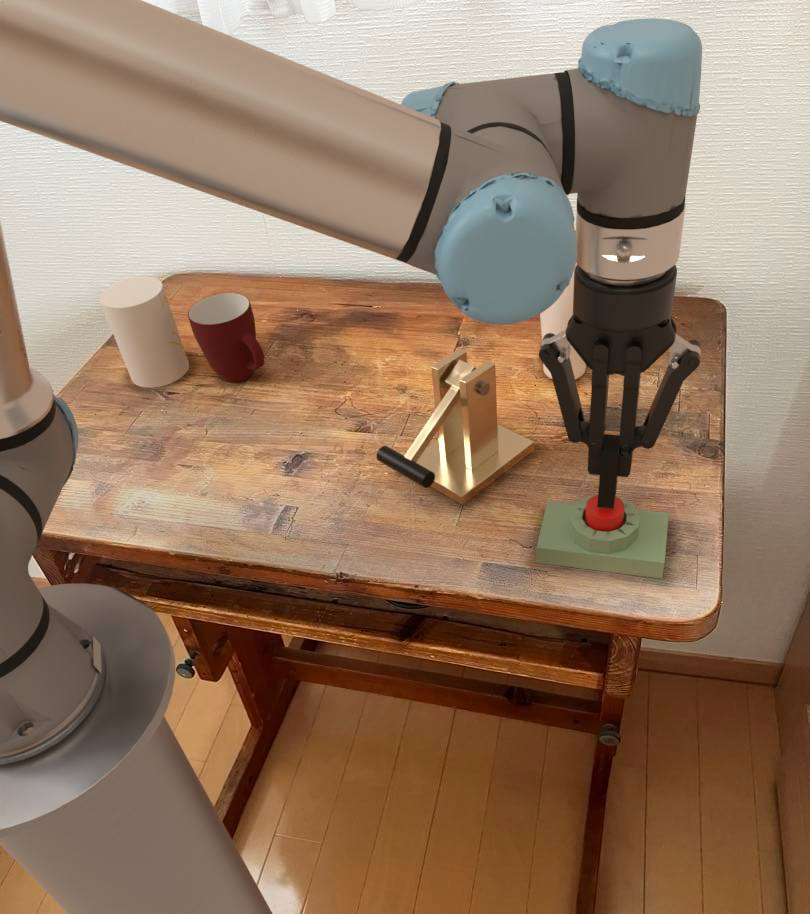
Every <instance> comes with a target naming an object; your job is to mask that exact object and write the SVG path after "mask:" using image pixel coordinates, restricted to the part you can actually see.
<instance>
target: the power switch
mask: <svg viewBox="0 0 810 914" xmlns="http://www.w3.org/2000/svg"><path fill="white" fill-rule="evenodd" d="M459 360H461V361H464V362H466V363H468V351H467V350H465V349H463V348H458V349H457V350H455V351H453V352H452V353H450V354H449V355H447V356H445V357H444V358H443V359H441V360H439V361H438V362H436V363H435V364H433V365H431V366H430V367H431V377H432V387H433V388H432V389H433V396H434V397H433V399H434V408H435V410H436V408H437V407H438V405H439V404H440V402H441V401H442V399H443V398H444V396H445V395H446V393H447V392H448V390H449V389H450V387H449V386H448V385H447V384H446V383H445V380H446V379H447V377H448V376H449V374H450V373H451V371H452V370H453V368H454V367H455V365H456V364H457V362H458V361H459ZM496 374H497V373H496V363H495V362H492V361H490V360H486V361H485V362H484V363H482V364H480V365H479V366H478V367H476V369H475V370H474V371H472V372H471V373H469V374H468V375H466V376H465V377H463V378H462V379H460V393H461V397H460V399H459V400H458V402H457V403H456V405H455V406H454V408H453V409H452V411H451V412H450V413H449V415H448V416H447V418H446V419H445V421H444V422H443V424H442V425H441V427H440V428H439V430H438V431H437V439H436V440H435V441H433V442H431V443H429V444H428V446H427V447H426V449H425V450H424V452H423V453H422V455H421V456H420V458H419V459H418V461H417V462H416V463H418V464H419V465H421V466H423V467H425V468H426V469H428V470H430V471H432V472H433V473H434V474H435V480H434V482H433V484H432V485H431V486H430V487H429V488H432V489H434V490H436V491H437V492H438V493H440V494H441V495H442V494H443V495H444V496H446V497H447V498H448V499H451V500H453V501H454V502H456V503H458V504H460V505H461V506H464V505H465V504H466V503H468V502H469V501H470V500H472V499H473V498H475V496H477V495H478V494H479V493H481V492H482V491H483V490H484V489H486V488H487V487H488V486H490V485H491V484H493V482H495V481H496V480H497V479H499V478H500V477H501V476H503V475H504V474H505V473H506V472H508V471H510V470H511V469H512V468H513V467H515V466H516V465H517V464H518V463H520V462H521V461H523V460H524V459H525V458H526V457H527V456H529V455H530V454H531V453H533V452H534V451H535V441H534V440H532V439H530V438H528V437H527V436H523V435H521V434H519V433H517V432H515V431H513V430H511V429H510V428H508V427H505V426H503V425H501V424H499V423H498V403H497V401H498V400H497V375H496Z"/></svg>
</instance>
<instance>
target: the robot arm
mask: <svg viewBox="0 0 810 914" xmlns="http://www.w3.org/2000/svg"><path fill="white" fill-rule="evenodd" d="M702 61H703V45H702V40H701V37H700V36H699V35H698V33H697V32H696V31H695V30H694V29H693V28H692V27H691V26H690V25H688V24H686V23H685V22H682V21H678V20H673V19H666V18H653V17H652V18H635V19H627V20H620V21H617V23H614V24H606V25H601V26H600V27H597V28H596V29H593V30H592V31H591V32H590V33H589V34H588V35H586V37H585V39H584V40H583V41H582V45H581V55H580V57H579V59H578V63H577V67H576V68H572V69H566V70H564V71H562V72H554V73H545V74H536V75H526V76H517V77H509V78H501V79H500V78H499V79H492V80H482V81H474V82H473V81H471V82H465V83H460V82H455V81H450V82H447V83H445V84H443V85H441V86H436V87H430V88H426V89H421V90H416V91H411V92H409V93H408V94H407V95H405V97H404V98H403V99H402V101H401V103H398V102H395V101H393V100H390V99H388V98H386V97H383V96H381V95H378V94H376V93H373V92H371V91H368V90H366V89H363V88H361V87H358V86H356V85H353V84H351V83H348V82H346V81H343V80H341V79H338V78H337V77H333V76H331V75H330V74H326V73H323V72H321V71H318V70H317V69H314V68H312V67H308V66H306V65H304V64H301V63H299V62H296V61H294V60H291V59H289V58H286V57H284V56H282V55H279V54H276V53H274V52H271V51H269V50H266V49H264V48H262V47H258V46H256V45H254V44H251V43H249V42H246V41H244V40H242V39H239V38H236V37H234V36H232V35H230V34H226V33H224V32H222V31H219V30H216V29H214V28H211V27H209V26H207V25H204V24H203V23H199V22H196V21H195V20H191V19H189V18H187V17H184V16H181V15H179V14H177V13H175V12H172V11H170V10H167V9H164V8H162V7H160V6H157V5H154V4H152V3H149V2H147V1H144V0H0V122H2V123H5V124H8V125H11V126H14V127H16V128H20V129H22V130H25V131H28V132H30V133H32V134H33V133H34V134H37V135H39V136H42V137H45V138H48V139H50V140H54V141H56V142H59V143H63V144H65V145H67V146H71V147H73V148H76V149H79V150H81V151H82V150H83V151H85V152H87V153H91V154H93V155H96V156H99V157H102V158H105V159H107V160H110V161H114V162H116V163H119V164H122V165H125V166H128V167H130V168H133V169H136V170H140V171H143V172H145V173H148V174H150V175H152V176H157V177H159V178H162V179H165V180H168V181H171V182H173V183H176V184H179V185H182V186H185V187H188V188H191V189H193V190H196V191H199V192H202V193H205V194H207V195H210V196H214V197H216V198H219V199H222V200H224V201H227V202H231V203H233V204H237V205H240V206H242V207H245V208H248V209H251V210H253V211H256V212H259V213H261V214H264V215H267V216H270V217H274V218H276V219H279V220H282V221H285V222H287V223H291V224H293V225H295V226H298V227H302V228H304V229H307V230H310V231H313V232H316V233H318V234H322V235H324V236H327V237H329V238H333V239H336V240H338V241H342V242H344V243H347V244H350V245H353V246H355V247H358V248H361V249H365V250H367V251H370V252H373V253H376V254H379V255H381V256H384V257H387V258H390V259H392V260H396V261H399V262H401V263H404V264H407V265H409V266H411V267H413V268H416V269H419V270H422V271H424V272H427V273H430V274H433V275H436V278H437V280H439V281H440V284H441V286H442V289H443V291H444V293H445V295H446V296H447V297H448V299H449V300H450V302H451V303H452V305H454V306H455V307H456V308H457V309H458V311H460V312H462V313H463V314H464V315H465V316H467V317H468V318H469V319H472V320H475V321H477V322H479V323H483V324H488V325H493V326H494V325H495V326H506V325H513V324H519V323H523V322H526V321H528V320H531V319H533V318H535V317H537V316H540V313H542V312H544V311H545V310H546V309H548V308H549V307H550V306H551V305H552V304H553V303H555V302H556V301H557V300H558V298H559V297H560V296H561V295H562V293H563V291H564V290H565V288H566V287H567V286H568V285H569V283H570V279H571V277H572V275H573V272H574V294H573V315H572V317H571V318H570V320H569V321H568V324H567V328H566V330H564V331H562V332H560V333H559V334H557V335H555V334H552V333H548V334H546V335H545V336H544V338H543V341H542V340H541V345H540V349H539V351H538V357H539V359H540V361H541V362H542V364H543V363H544V365H545V366H546V367H547V369H548V370H549V371H550V373H551V376H552V379H551V380H552V384H553V387H554V391H555V394H556V397H557V402H558V406H559V409H560V413H561V418H562V421H563V424H564V428H565V432H566V436H567V439H568V441H569V442H570V443H573V444H578V443H582V444H584V445H586V446H587V449H588V451H587V452H588V453H587V472H588V475H595V476H598V492H597V494H598V505H597V507H603V508H613V509H614V503H615V496H616V495H617V490H618V488H617V487H618V478H619V477H620V478H628V477H629V476H630V475H631V472H632V464H633V454H634V451H635V450H636V449H638V448H641V447H642V448H643V449H645V450H646V449H647V450H649V449H652V448H654V446H655V445H656V442H657V440H658V438H659V436H660V434H661V431H662V429H663V427H664V425H665V423H666V421H667V419H668V416H669V414H670V412H671V410H672V408H673V405H674V403H675V401H676V398H677V396H678V394H679V392H680V390H681V388H682V385H683V383H684V382H685V380H687V378H688V377H689V376H690V375H691V374H692V373H694V372H695V370H697V369H698V368H699V367H700V365H701V354H702V344H701V342H700V340H697V339H690V340H689V341H687V339H685V338H684V337H681V336H680V335H678V333H677V325H676V323H675V322H674V319H673V307H674V300H675V292H676V284H677V275H678V268H677V265H676V264H677V263H678V261H679V258H680V254H681V253H680V252H681V246H682V245H681V244H682V236H683V229H684V222H685V221H684V220H685V214H686V194H687V189H688V181H689V174H690V167H691V160H692V153H693V146H694V141H695V134H696V127H697V120H698V116H699V114H700V110H701V104H700V93H701V81H702V79H701V78H702V64H703V63H702ZM573 194H576V195H577V196H576V212H575V213H576V214H575V215H576V217H575V216H574V210H573V206H572V203H571V201H570V199H569V195H573ZM575 230H576V235H575ZM6 246H7V245H6V242H5V236H4V232H3V227H2V222H1V220H0V765H3V764H9V763H14V762H17V761H21V760H24V759H27V758H29V757H32V756H34V755H36V754H39V753H41V752H43V751H45V750H46V749H48V748H50V747H52V746H53V745H55V744H56V743H58V742H59V741H61V740H62V739H63V738H65V737H66V736H67V735H68V734H70V733H71V732H72V731H73V730H74V729H75V728H76V727H77V726H78V725H79V724H80V723H81V722H82V721H83V720H84V719H85V717H86V716H87V715H88V714H89V712H90V711H91V709H92V708H93V706H94V705H95V703H96V701H97V699H98V697H99V695H100V693H101V690H102V687H103V683H104V678H105V663H104V659H103V656H102V653H101V644H100V643H99V642H98V641H97V640H96V639H95V638H94V636H93V638H92V636H91V635H90V634H89V633H88V632H87V631H86V630H85V629H84V628H82V627H81V626H80V625H78V624H77V623H75V622H74V621H72V620H71V619H69V618H68V617H66V616H65V615H63V614H62V613H60V612H59V611H57V610H56V609H54V608H53V607H51V606H50V605H49V604H47V603H46V601H45V600H44V598H43V596H42V595H41V593H40V591H39V590H38V588H39V587H37V585H36V583H35V582H34V580H33V578H32V577H31V574H30V573H29V564H30V562H31V559H32V557H33V554H34V552H35V550H36V548H37V545H38V543H39V541H40V539H41V537H42V534H43V532H44V530H45V527H46V525H47V523H48V521H49V519H50V516H51V515H52V512H53V510H54V508H55V505H56V503H57V501H58V499H59V497H60V495H61V492H62V490H63V488H64V487H65V485H66V484H67V482H68V481H69V479H70V477H71V476H72V473H73V471H74V466H75V465H76V460H77V453H78V448H79V440H80V439H79V430H78V429H79V428H78V425H77V421H76V419H75V416H74V414H73V412H72V410H71V407H69V404H67V402H66V401H65V400H64V399H63V398H62V397H57V396H56V395H55V394H54V389H53V387H52V385H51V383H50V381H49V380H48V378H47V377H46V376H45V375H43V373H41V372H40V371H38V370H37V369H35V368H33V367H31V366H30V363H29V358H28V352H27V348H26V347H27V346H26V343H25V337H24V333H23V327H22V323H21V317H20V313H19V306H18V303H17V298H16V297H17V296H16V291H15V288H14V282H13V277H12V272H11V268H10V267H11V265H10V262H9V258H8V257H9V256H8V252H7V247H6ZM576 263H577V266H576V267H575V265H576ZM574 269H575V271H574ZM570 345H571V346H572V347H573V348H574V349H575V351H576V352H577V353H578V355H579V356H580V357H581V359H582V360H583V361H584V362H585V364H586V367H587V368H589V369H590V370H591V383H590V384H591V385H590V386H591V391H590V393H591V394H590V407H589V408H590V409H589V410H590V411H589V421H586V418H585V414H584V410H583V405H582V402H581V398H580V394H579V390H578V386H577V381H576V380H575V377H574V373H573V369H572V365H571V361H570V358H569V355H570V352H571V347H570ZM667 351H668V356H667V364H668V365H667V368H666V370H665V372H664V375H663V376H662V379H661V382H660V384H659V386H658V389H657V391H656V393H655V395H654V398H653V400H652V403H651V404H650V407H649V408H648V409H649V410H648V411H647V414H646V416H645V419H644V421H643V424H642V425H638V426H636V425H637V418H638V417H637V416H638V406H639V396H640V386H641V378H642V377H641V376H642V373H644V372H646V371H647V370H649V368H650V367H652V366H653V365H654V363H656V362H657V361H658V360H659V359H660V358H661V357H662V356H663V355H664V354H665V353H666V352H667ZM610 375H611V376H612V375H619V376H622V377H623V384H622V385H623V386H622V387H623V388H622V400H621V401H622V402H621V413H620V423H619V424H620V425H619V434H611V433H606V427H607V424H606V423H607V413H608V410H607V409H608V400H609V399H608V398H609V385H610Z"/></svg>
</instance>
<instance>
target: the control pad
mask: <svg viewBox="0 0 810 914" xmlns="http://www.w3.org/2000/svg"><path fill="white" fill-rule="evenodd" d="M595 495H598V493H595V494H593V495H589V496H585V497H582V498H580V500H578V501H577V502H571V501H564V500H563V501H562V500H561V501H560V500H554V499H553V500H551V499H547V502H546V506H545V510H544V513H543V518H542V522H541V525H540V530H539V535H538V539H537V544H536V547H535V548H536V549H535V550H536V551H535V552H536V555H535V561H536V562H535V563H536V564H541V565H543V564H544V565H550V566H556V567H557V566H559V567H565V568H574V569H583V570H590V571H597V572H605V573H614V574H622V575H630V576H638V577H645V578H646V577H647V578H652V579H653V578H654V579H663V576H664V569H665V565H666V564H665V563H666V555H667V554H666V553H667V542H668V530H669V518H670V512H668V511H667V512H666V511H658V510H657V511H656V510H647V509H638V508H636V507H635V505H634V504H633V503H632V502H631V501H629V500H628V499H625V498H623V497H621V496H620V495H617V494H616V496H617V497H618V498H620V499H621V500H622V501H623V503H624V505H625V510H624V519H623V524H622V525H621V527H620V528H618V529H617V530H614V531H610V532H604V531H596V530H594V529H592V528H590V527H589V526H588V525H587V523H586V520H585V514H586V503H587V501H588V500H589V499H590V498H591V497H593V496H595Z"/></svg>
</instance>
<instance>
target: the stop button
mask: <svg viewBox="0 0 810 914" xmlns="http://www.w3.org/2000/svg"><path fill="white" fill-rule="evenodd" d="M594 495H595V496H593V497H591V498H590V499H589V500H588V501H587V503H586V514H585V520H586V523H587V525H588V526H589V527H590V528H592V529H594V530H596V531H604V532H610V531H614V530H617V529H618V528H620V527H621V525H622V524H623V519H624V510H625V505H624V503H623V501H622V500H621V499H620V498H618V497H617V496H618V495H617V496H615V503H614V509H613V508H603V507H597V505H598V495H596V494H594Z"/></svg>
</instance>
